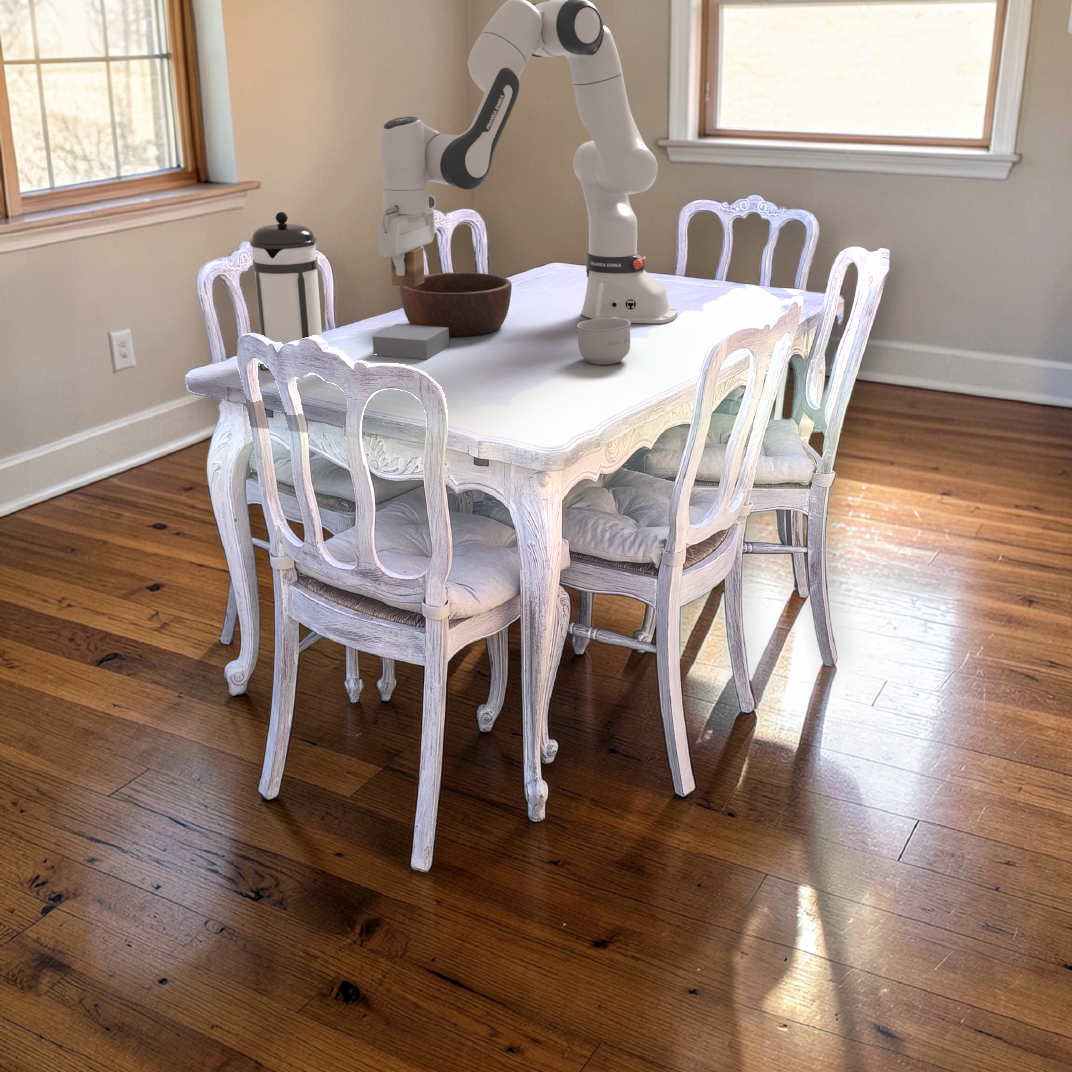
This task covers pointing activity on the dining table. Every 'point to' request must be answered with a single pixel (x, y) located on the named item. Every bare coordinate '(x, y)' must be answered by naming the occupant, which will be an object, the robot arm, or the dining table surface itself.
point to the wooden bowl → (458, 302)
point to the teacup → (604, 340)
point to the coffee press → (286, 281)
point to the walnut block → (410, 269)
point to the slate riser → (411, 341)
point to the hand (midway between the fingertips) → (408, 272)
